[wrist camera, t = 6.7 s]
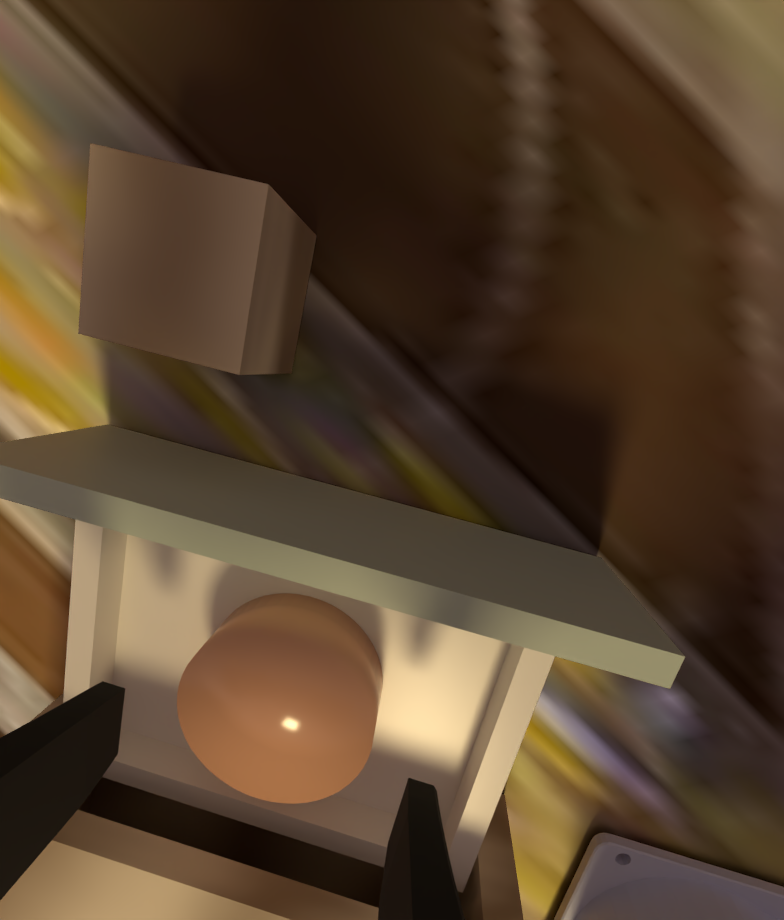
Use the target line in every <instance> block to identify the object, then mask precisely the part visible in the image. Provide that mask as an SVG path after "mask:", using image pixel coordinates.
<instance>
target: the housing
mask: <svg viewBox="0 0 784 920" xmlns="http://www.w3.org/2000/svg"><path fill="white" fill-rule="evenodd" d="M63 697H64V693H63V694H62V695H61V696H59V697H58V698H57V699H56V700H55V701H54V702H52V703H51V704H50V705H49V706H48V707H47V708H45V709H44V710H43V711H42V712H41V713H40V714H38V715H37V716H36V717H35V718H34V719H36V718H38V717H39V716H41V715H43V714H45V713H47V712H48V711H50V710H52V709H54V708H55V707H57V706H59V705H61V704H63ZM34 719H33V720H34ZM30 722H31V721H30ZM383 872H384V867H381V866H378V865H375V864H371V863H368V862H365V861H362V860H359V859H356V858H353V857H350V856H346V855H343V854H340V853H337V852H334V851H331V850H328V849H325V848H322V847H318V846H315V845H312V844H309V843H306V842H303V841H300V840H297V839H293V838H290V837H287V836H284V835H281V834H278V833H275V832H272V831H269V830H265V829H262V828H259V827H256V826H253V825H250V824H247V823H244V822H241V821H237V820H234V819H231V818H228V817H225V816H222V815H219V814H216V813H212V812H209V811H206V810H203V809H200V808H197V807H194V806H191V805H188V804H184V803H181V802H178V801H175V800H172V799H169V798H166V797H163V796H160V795H156V794H153V793H150V792H147V791H144V790H141V789H138V788H135V787H131V786H128V785H125V784H122V783H119V782H116V781H113V780H110V779H107V778H103V777H102V778H101V779H100V781H99V782H98V783H97V785H96V786H95V788H94V789H93V790H92V792H91V793H90V795H89V796H88V797H87V799H86V800H85V801H84V803H83V804H82V805H81V806H80V808H79V809H78V810H77V811H76V812H75V814H74V815H73V816H72V817H71V818H70V819H69V821H68V822H67V823H66V824H65V825H64V827H63V828H62V829H61V830H60V831H59V832H58V834H57V835H56V836H55V837H54V838H53V840H52V841H51V842H50V843H49V844H48V845H47V847H46V848H45V849H44V850H43V851H42V852H41V854H40V855H39V856H38V857H37V858H36V859H35V861H34V862H33V863H32V864H31V865H30V867H29V868H28V869H27V870H26V871H25V872H24V874H23V875H22V876H21V877H20V878H19V879H18V881H17V882H16V883H15V884H14V885H13V886H12V888H11V889H10V890H9V891H8V892H7V893H6V895H5V896H4V897H3V898H2V899H1V900H0V920H378V911H379V900H380V893H381V886H382V879H383ZM458 895H459V899H460V903H461V906H462V910H463V914H464V918H465V920H523V914H522V907H521V900H520V894H519V887H518V880H517V874H516V867H515V860H514V854H513V847H512V840H511V834H510V827H509V820H508V814H507V807H506V800H505V795H503V794H501V796H500V799H499V801H498V804H497V806H496V809H495V811H494V814H493V817H492V819H491V822H490V824H489V827H488V829H487V832H486V835H485V837H484V840H483V842H482V845H481V847H480V850H479V853H478V855H477V858H476V860H475V863H474V865H473V868H472V870H471V873H470V876H469V878H468V881H467V883H466V886H465V888H464V891H463V893H462V892H459V891H458Z"/></svg>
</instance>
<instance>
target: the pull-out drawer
mask: <svg viewBox="0 0 784 920" xmlns="http://www.w3.org/2000/svg"><path fill="white" fill-rule="evenodd" d="M0 498H2V499H5V500H9V501H12V502H16V503H19V504H23V505H27V506H30V507H34V508H37V509H41V510H44V511H48V512H51V513H55V514H58V515H62V516H65V517H69V518H72V519H76V521H75V536H74V551H73V565H72V580H71V594H70V609H69V624H68V638H67V653H66V668H65V682H64V697H63V703H64V702H66V701H68V700H70V699H71V698H73V697H75V696H77V695H78V694H80V693H82V692H84V691H86V690H87V689H89V688H91V687H93V686H95V685H97V684H98V683H100V682H102V681H104V682H107V683H110V684H113V685H116V686H119V687H123V688H125V696H124V705H123V713H122V722H121V731H120V740H119V749H118V755H117V756H116V758H115V759H114V760H113V762H112V763H111V765H110V766H109V768H108V769H107V771H106V772H105V773H104V775H103V776H102V777H103V778H107V779H110V780H113V781H116V782H119V783H122V784H125V785H128V786H131V787H135V788H138V789H141V790H144V791H147V792H150V793H153V794H156V795H160V796H163V797H166V798H169V799H172V800H175V801H178V802H181V803H184V804H188V805H191V806H194V807H197V808H200V809H203V810H206V811H209V812H212V813H216V814H219V815H222V816H225V817H228V818H231V819H234V820H237V821H241V822H244V823H247V824H250V825H253V826H256V827H259V828H262V829H265V830H269V831H272V832H275V833H278V834H281V835H284V836H287V837H290V838H293V839H297V840H300V841H303V842H306V843H309V844H312V845H315V846H318V847H322V848H325V849H328V850H331V851H334V852H337V853H340V854H343V855H346V856H350V857H353V858H356V859H359V860H362V861H365V862H368V863H371V864H375V865H378V866H381V867H384V865H385V859H386V852H387V846H388V841H389V838H390V834H391V831H392V828H393V825H394V822H395V819H396V816H397V812H398V809H399V806H400V803H401V800H402V797H403V794H404V790H405V787H406V784H407V781H408V778H412V779H415V780H418V781H421V782H424V783H427V784H431V785H434V787H435V788H436V790H437V795H438V802H439V808H440V814H441V819H442V825H443V830H444V835H445V840H446V844H447V849H448V854H449V858H450V863H451V867H452V871H453V875H454V879H455V883H456V887H457V891H459V892H462V893H463V891H464V888H465V886H466V883H467V881H468V878H469V876H470V873H471V870H472V868H473V865H474V863H475V860H476V858H477V855H478V853H479V850H480V847H481V845H482V842H483V840H484V837H485V835H486V832H487V829H488V827H489V824H490V822H491V819H492V817H493V814H494V811H495V809H496V806H497V804H498V801H499V799H500V796H501V794H502V791H503V788H504V786H505V783H506V781H507V778H508V776H509V773H510V770H511V768H512V765H513V763H514V760H515V758H516V755H517V753H518V750H519V747H520V745H521V742H522V740H523V737H524V735H525V732H526V729H527V727H528V724H529V722H530V719H531V717H532V714H533V712H534V709H535V706H536V704H537V701H538V699H539V696H540V694H541V691H542V688H543V686H544V683H545V681H546V678H547V676H548V673H549V670H550V668H551V665H552V663H553V660H554V658H555V656H556V657H560V658H563V659H567V660H570V661H574V662H577V663H581V664H584V665H588V666H591V667H595V668H598V669H602V670H605V671H609V672H612V673H616V674H619V675H623V676H626V677H630V678H633V679H637V680H640V681H644V682H647V683H651V684H654V685H658V686H661V687H665V688H668V689H670V688H671V686H672V683H673V681H674V679H675V677H676V675H677V673H678V671H679V669H680V667H681V665H682V662H683V660H684V658H685V656H684V655H683V653H682V652H681V651H680V650H679V649H678V648H677V646H676V645H675V644H674V643H673V642H672V641H671V639H670V638H669V637H668V636H667V635H666V633H665V632H664V631H663V630H662V629H661V628H660V626H659V625H658V624H657V623H656V622H655V620H654V619H653V618H652V617H651V616H650V615H649V613H648V612H647V611H646V610H645V609H644V608H643V606H642V605H641V604H640V603H639V602H638V600H637V599H636V598H635V597H634V596H633V595H632V593H631V592H630V591H629V590H628V589H627V587H626V586H625V585H624V584H623V583H622V582H621V580H620V579H619V578H618V577H617V576H616V575H615V573H614V572H613V571H612V570H611V569H610V567H609V566H608V565H607V564H606V563H605V562H604V560H603V559H602V558H600V557H597V556H593V555H589V554H586V553H582V552H578V551H574V550H571V549H567V548H563V547H560V546H556V545H552V544H549V543H545V542H541V541H537V540H534V539H530V538H526V537H523V536H519V535H515V534H512V533H508V532H504V531H500V530H497V529H493V528H489V527H486V526H482V525H478V524H475V523H471V522H467V521H463V520H460V519H456V518H452V517H449V516H445V515H441V514H438V513H434V512H430V511H426V510H423V509H419V508H415V507H412V506H408V505H404V504H401V503H397V502H393V501H389V500H386V499H382V498H378V497H375V496H371V495H367V494H364V493H360V492H356V491H352V490H349V489H345V488H341V487H338V486H334V485H330V484H327V483H323V482H319V481H315V480H312V479H308V478H304V477H301V476H297V475H293V474H290V473H286V472H282V471H278V470H275V469H271V468H267V467H264V466H260V465H256V464H253V463H249V462H245V461H241V460H238V459H234V458H230V457H227V456H223V455H219V454H216V453H212V452H208V451H204V450H201V449H197V448H193V447H190V446H186V445H182V444H179V443H175V442H171V441H167V440H164V439H160V438H156V437H153V436H149V435H145V434H142V433H138V432H134V431H130V430H127V429H123V428H119V427H116V426H112V425H102V426H96V427H90V428H84V429H79V430H73V431H67V432H61V433H55V434H49V435H43V436H37V437H31V438H25V439H19V440H13V441H7V442H1V443H0ZM280 593H291V594H300V595H305V596H310V597H313V598H316V599H320V600H322V601H324V602H327V603H329V604H331V605H333V606H335V607H336V608H338V609H340V610H341V611H343V612H344V613H345V614H347V615H348V616H349V617H351V618H352V619H353V620H354V621H355V622H356V623H357V624H358V625H359V626H360V627H361V628H362V629H363V631H364V632H365V633H366V634H367V636H368V637H369V639H370V640H371V642H372V644H373V645H374V647H375V650H376V652H377V654H378V657H379V660H380V664H381V668H382V675H383V688H382V694H381V700H380V705H379V711H378V716H377V722H376V727H375V733H374V738H373V744H372V749H371V752H370V755H369V758H368V760H367V762H366V764H365V766H364V768H363V769H362V770H361V772H360V773H359V774H358V776H357V777H356V778H355V779H354V780H353V781H352V782H351V783H350V784H349V785H347V786H346V787H345V788H343V789H342V790H340V791H339V792H337V793H335V794H333V795H331V796H329V797H326V798H323V799H320V800H317V801H312V802H308V803H297V804H288V803H276V802H270V801H266V800H261V799H258V798H255V797H252V796H249V795H247V794H244V793H242V792H240V791H238V790H236V789H234V788H232V787H231V786H229V785H227V784H226V783H224V782H223V781H222V780H220V779H219V778H217V777H216V776H215V775H214V774H213V773H212V772H210V771H209V770H208V769H207V768H206V767H205V766H204V765H203V764H202V762H201V761H200V760H199V759H198V758H197V756H196V755H195V754H194V752H193V751H192V749H191V748H190V746H189V744H188V742H187V741H186V739H185V736H184V734H183V731H182V729H181V726H180V722H179V718H178V711H177V692H178V687H179V683H180V680H181V677H182V674H183V672H184V670H185V668H186V667H187V665H188V663H189V662H190V661H191V659H192V658H193V657H194V656H195V654H196V653H197V652H198V651H199V650H200V649H201V647H202V646H203V645H204V644H205V643H206V642H207V640H208V639H209V638H210V637H211V636H212V635H213V633H214V632H215V631H216V630H217V629H218V628H219V626H220V625H221V624H222V623H223V622H224V621H225V619H226V618H227V617H228V616H229V615H230V614H231V613H232V612H233V611H234V610H236V609H237V608H239V607H240V606H241V605H243V604H245V603H247V602H249V601H251V600H253V599H255V598H258V597H262V596H265V595H271V594H280Z"/></svg>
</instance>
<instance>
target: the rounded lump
mask: <svg viewBox="0 0 784 920" xmlns="http://www.w3.org/2000/svg"><path fill="white" fill-rule="evenodd" d="M382 688H383V675H382V668H381V664H380V660H379V657H378V654H377V652H376V650H375V647H374V645H373V644H372V642H371V640H370V639H369V637H368V636H367V634H366V633H365V632H364V631H363V629H362V628H361V627H360V626H359V625H358V624H357V623H356V622H355V621H354V620H353V619H352V618H351V617H349V616H348V615H347V614H345V613H344V612H343V611H341V610H340V609H338V608H336V607H335V606H333V605H331V604H329V603H327V602H324V601H322V600H320V599H316V598H313V597H310V596H305V595H300V594H291V593H280V594H271V595H265V596H262V597H258V598H255V599H253V600H251V601H249V602H247V603H245V604H243V605H241V606H240V607H239V608H237V609H236V610H234V611H233V612H232V613H231V614H230V615H229V616H228V617H227V618H226V619H225V621H224V622H223V623H222V624H221V625H220V626H219V628H218V629H217V630H216V631H215V632H214V633H213V635H212V636H211V637H210V638H209V639H208V640H207V642H206V643H205V644H204V645H203V646H202V647H201V649H200V650H199V651H198V652H197V653H196V654H195V656H194V657H193V658H192V659H191V661H190V662H189V663H188V665H187V667H186V668H185V670H184V672H183V674H182V677H181V680H180V683H179V687H178V692H177V711H178V718H179V722H180V726H181V729H182V731H183V734H184V736H185V739H186V741H187V742H188V744H189V746H190V748H191V749H192V751H193V752H194V754H195V755H196V756H197V758H198V759H199V760H200V761H201V762H202V764H203V765H204V766H205V767H206V768H207V769H208V770H209V771H210V772H212V773H213V774H214V775H215V776H216V777H217V778H219V779H220V780H222V781H223V782H224V783H226V784H227V785H229V786H231V787H232V788H234V789H236V790H238V791H240V792H242V793H244V794H247V795H249V796H252V797H255V798H258V799H261V800H266V801H270V802H276V803H288V804H297V803H308V802H312V801H317V800H320V799H323V798H326V797H329V796H331V795H333V794H335V793H337V792H339V791H340V790H342V789H343V788H345V787H346V786H347V785H349V784H350V783H351V782H352V781H353V780H354V779H355V778H356V777H357V776H358V774H359V773H360V772H361V770H362V769H363V768H364V766H365V764H366V762H367V760H368V758H369V755H370V752H371V749H372V744H373V738H374V733H375V727H376V722H377V716H378V711H379V705H380V700H381V694H382Z"/></svg>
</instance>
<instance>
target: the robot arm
mask: <svg viewBox="0 0 784 920" xmlns="http://www.w3.org/2000/svg"><path fill="white" fill-rule="evenodd" d="M124 696H125V688H123V687H119V686H116V685H113V684H110V683H107V682H104V681H102V682H100V683H98V684H97V685H95V686H93V687H91V688H89V689H87V690H86V691H84V692H82V693H80V694H78V695H77V696H75V697H73V698H71V699H70V700H68V701H66V702H64V703H63V704H61V705H59V706H57V707H55V708H54V709H52V710H50V711H48V712H47V713H45V714H43V715H41V716H39V717H38V718H36V719H34V720H32V721H31V722H29V723H27V724H25V725H23V726H21V727H20V728H18V729H16V730H14V731H12V732H10V733H9V734H7V735H5V736H3V737H1V738H0V900H1V899H2V898H3V897H4V896H5V895H6V893H7V892H8V891H9V890H10V889H11V888H12V886H13V885H14V884H15V883H16V882H17V881H18V879H19V878H20V877H21V876H22V875H23V874H24V872H25V871H26V870H27V869H28V868H29V867H30V865H31V864H32V863H33V862H34V861H35V859H36V858H37V857H38V856H39V855H40V854H41V852H42V851H43V850H44V849H45V848H46V847H47V845H48V844H49V843H50V842H51V841H52V840H53V838H54V837H55V836H56V835H57V834H58V832H59V831H60V830H61V829H62V828H63V827H64V825H65V824H66V823H67V822H68V821H69V819H70V818H71V817H72V816H73V815H74V814H75V812H76V811H77V810H78V809H79V808H80V806H81V805H82V804H83V803H84V801H85V800H86V799H87V797H88V796H89V795H90V793H91V792H92V790H93V789H94V788H95V786H96V785H97V783H98V782H99V781H100V779H101V778H102V776H103V775H104V773H105V772H106V771H107V769H108V768H109V766H110V765H111V763H112V762H113V760H114V759H115V758H116V756H117V755H118V749H119V740H120V731H121V722H122V713H123V705H124ZM378 920H465V918H464V914H463V910H462V906H461V903H460V899H459V895H458V891H457V887H456V883H455V879H454V875H453V871H452V867H451V863H450V858H449V854H448V849H447V844H446V840H445V835H444V830H443V825H442V819H441V814H440V808H439V802H438V795H437V790H436V788H435V787H434V785H431V784H427V783H424V782H421V781H418V780H415V779H412V778H408V781H407V784H406V787H405V790H404V794H403V797H402V800H401V803H400V806H399V809H398V812H397V816H396V819H395V822H394V825H393V828H392V831H391V834H390V838H389V841H388V846H387V852H386V859H385V865H384V872H383V879H382V886H381V893H380V900H379V911H378ZM554 920H784V887H782V886H779V885H776V884H773V883H769V882H766V881H763V880H760V879H756V878H753V877H750V876H747V875H743V874H740V873H737V872H734V871H730V870H727V869H724V868H721V867H717V866H714V865H711V864H708V863H704V862H701V861H698V860H694V859H691V858H688V857H685V856H681V855H678V854H675V853H672V852H668V851H665V850H662V849H659V848H655V847H652V846H649V845H646V844H642V843H639V842H636V841H633V840H629V839H626V838H623V837H619V836H616V835H613V834H610V833H599V834H597V835H595V836H594V837H593V838H592V840H591V842H590V844H589V846H588V848H587V850H586V852H585V854H584V857H583V859H582V861H581V863H580V865H579V867H578V869H577V871H576V873H575V876H574V878H573V880H572V882H571V884H570V886H569V888H568V890H567V893H566V895H565V897H564V899H563V901H562V903H561V905H560V907H559V910H558V912H557V914H556V916H555V918H554Z"/></svg>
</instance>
